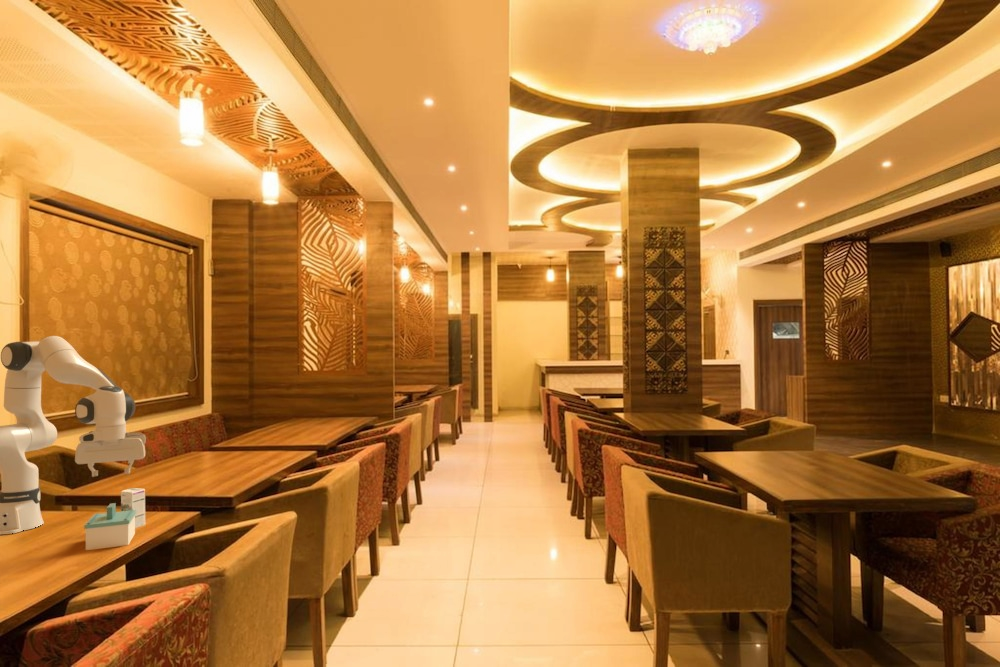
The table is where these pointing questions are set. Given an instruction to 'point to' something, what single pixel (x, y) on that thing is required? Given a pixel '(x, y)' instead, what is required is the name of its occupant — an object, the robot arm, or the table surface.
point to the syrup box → (134, 504)
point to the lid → (110, 518)
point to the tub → (110, 536)
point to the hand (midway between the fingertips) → (111, 474)
